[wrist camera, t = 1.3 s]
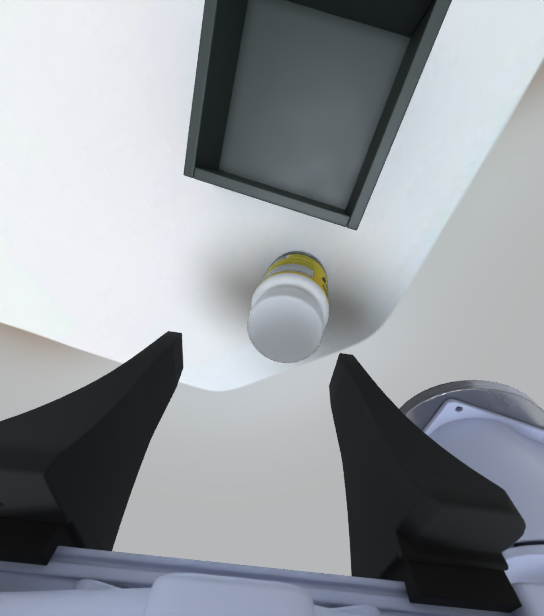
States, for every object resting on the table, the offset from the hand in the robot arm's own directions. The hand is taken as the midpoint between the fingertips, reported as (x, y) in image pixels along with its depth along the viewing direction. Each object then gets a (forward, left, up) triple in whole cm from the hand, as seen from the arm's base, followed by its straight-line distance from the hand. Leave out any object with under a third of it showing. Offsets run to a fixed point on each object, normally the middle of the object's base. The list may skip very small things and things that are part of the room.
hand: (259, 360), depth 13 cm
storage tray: (+2, -11, -11) cm, 15 cm away
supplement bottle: (-1, -1, -11) cm, 11 cm away
